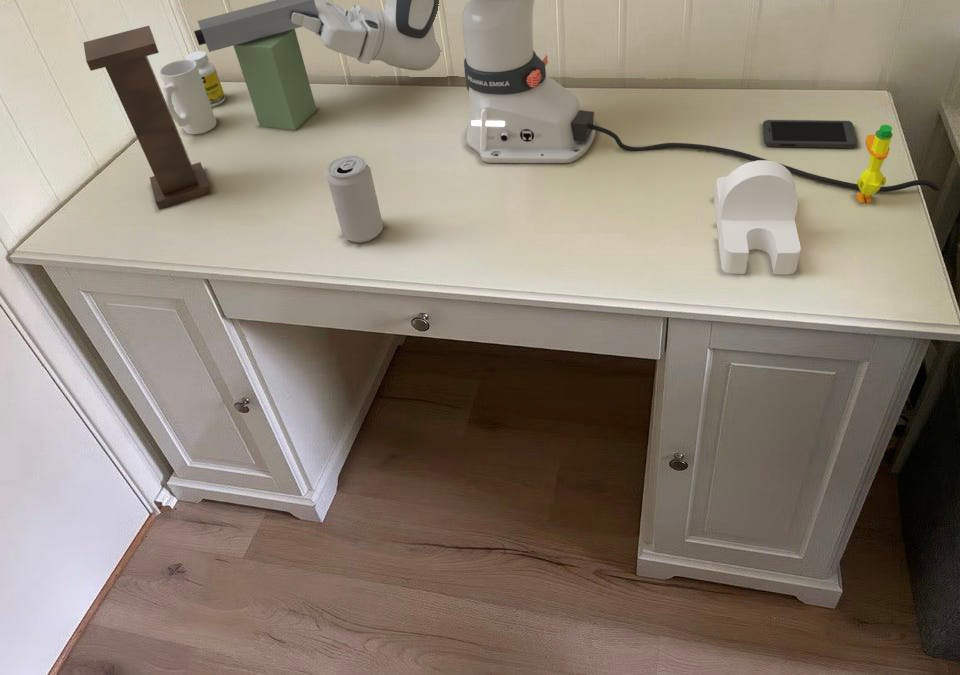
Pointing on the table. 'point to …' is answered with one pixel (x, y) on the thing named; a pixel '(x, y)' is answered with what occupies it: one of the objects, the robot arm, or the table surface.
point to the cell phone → (809, 133)
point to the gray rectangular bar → (251, 23)
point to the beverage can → (355, 198)
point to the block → (277, 80)
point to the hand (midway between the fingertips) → (287, 11)
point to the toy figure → (874, 163)
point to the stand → (148, 114)
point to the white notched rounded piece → (757, 216)
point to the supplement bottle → (208, 77)
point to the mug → (187, 96)
